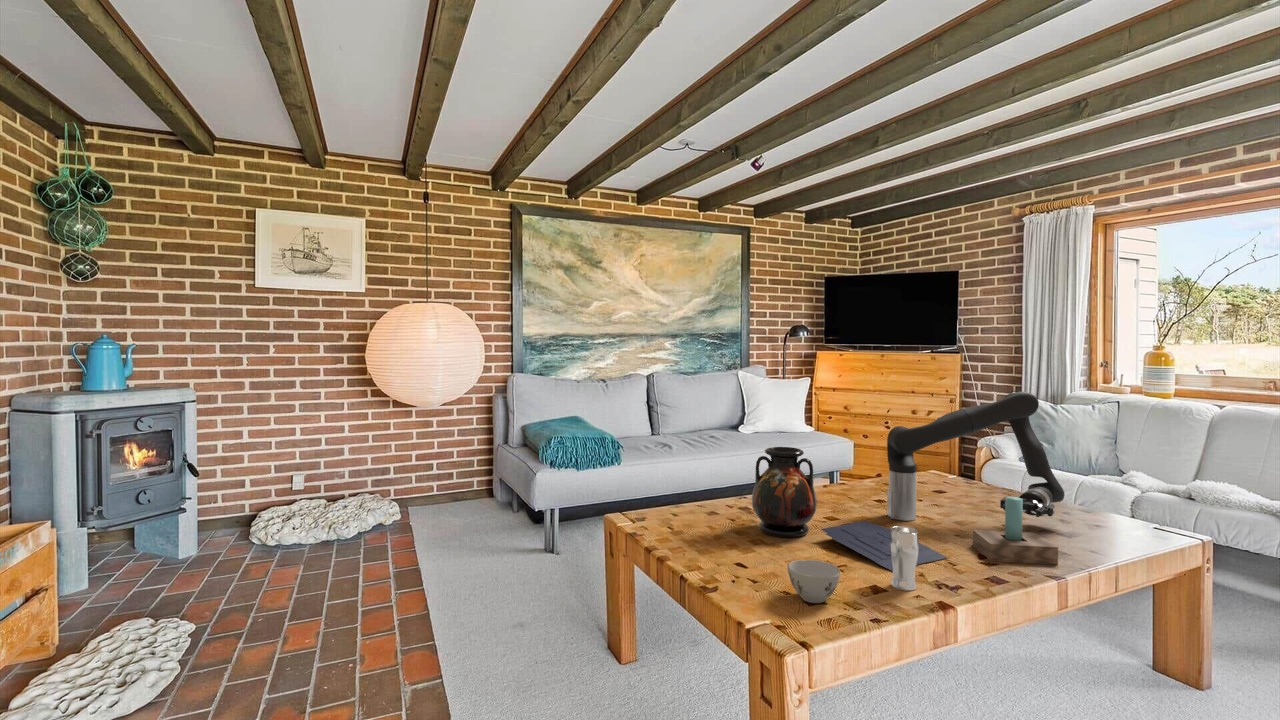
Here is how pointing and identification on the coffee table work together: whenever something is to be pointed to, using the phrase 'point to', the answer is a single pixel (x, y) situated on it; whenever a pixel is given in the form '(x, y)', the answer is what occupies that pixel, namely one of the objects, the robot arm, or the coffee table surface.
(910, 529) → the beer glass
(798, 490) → the amphora vase
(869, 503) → the coffee table surface
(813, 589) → the teacup
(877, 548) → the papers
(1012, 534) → the teal pin
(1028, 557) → the walnut block
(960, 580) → the coffee table surface
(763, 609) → the coffee table surface
